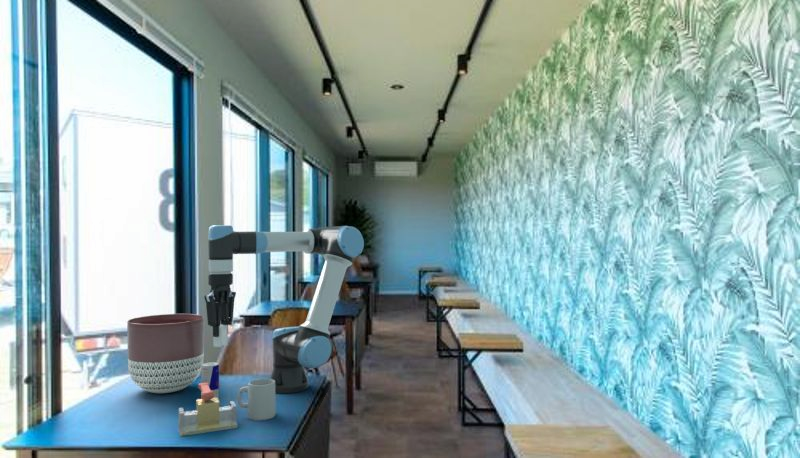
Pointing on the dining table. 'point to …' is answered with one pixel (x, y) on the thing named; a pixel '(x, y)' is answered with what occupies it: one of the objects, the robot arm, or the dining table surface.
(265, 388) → the mug
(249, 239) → the robot arm
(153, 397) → the dining table surface
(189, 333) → the planter
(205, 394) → the lever
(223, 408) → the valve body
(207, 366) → the beverage can
